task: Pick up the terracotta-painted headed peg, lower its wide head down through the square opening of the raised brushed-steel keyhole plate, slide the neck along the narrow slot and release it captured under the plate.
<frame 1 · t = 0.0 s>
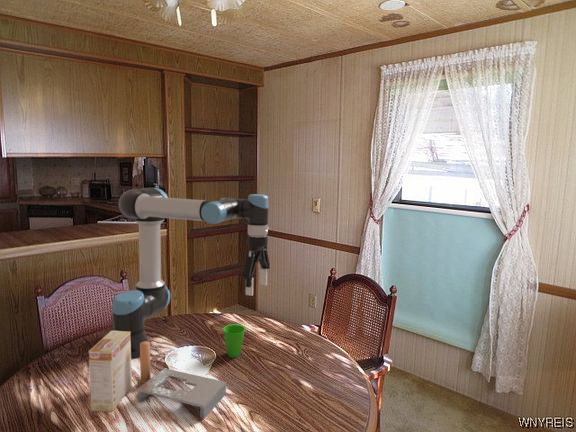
hand: (256, 289, 156), 28 cm above the table, fingers open, 13 cm apart
keyhole plate: (182, 398, 132), on the table
coffeecake box: (112, 398, 131), on the table
headed peg: (145, 384, 139), on the table
cup: (233, 355, 162), on the table
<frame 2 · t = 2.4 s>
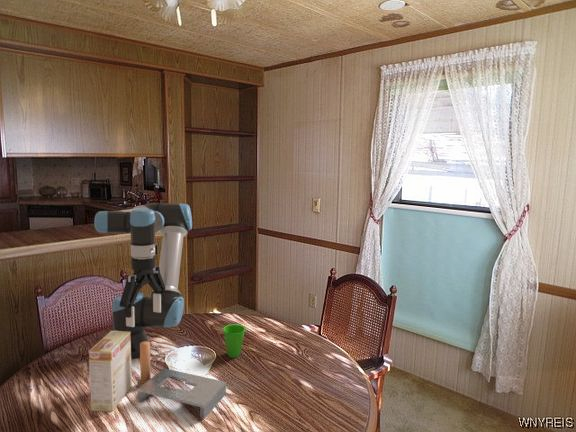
hand: (144, 318, 135), 24 cm above the table, fingers open, 13 cm apart
nothing on the table moved.
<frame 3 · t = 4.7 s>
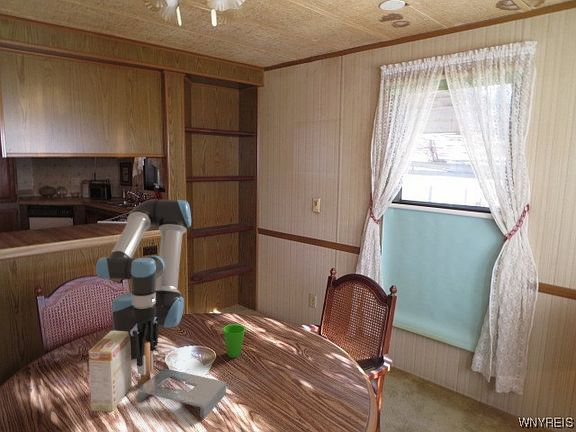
hand: (145, 370, 138), 5 cm above the table, fingers closed on headed peg, 3 cm apart
headed peg: (145, 384, 139), on the table, touching gripper
everything else where it was.
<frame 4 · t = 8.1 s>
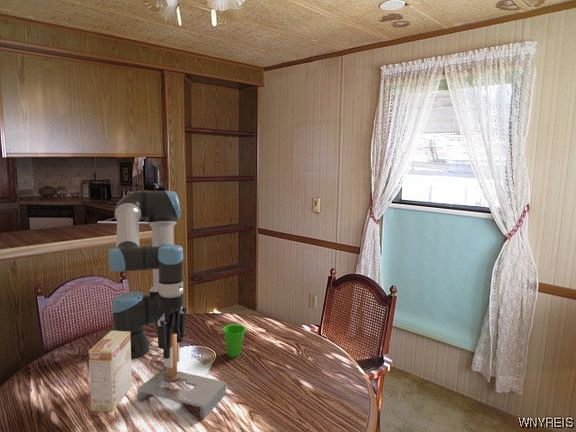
hand: (171, 363, 132), 11 cm above the table, fingers closed on headed peg, 3 cm apart
headed peg: (172, 378, 132), point 6 cm above the table, touching gripper
everything else where it was.
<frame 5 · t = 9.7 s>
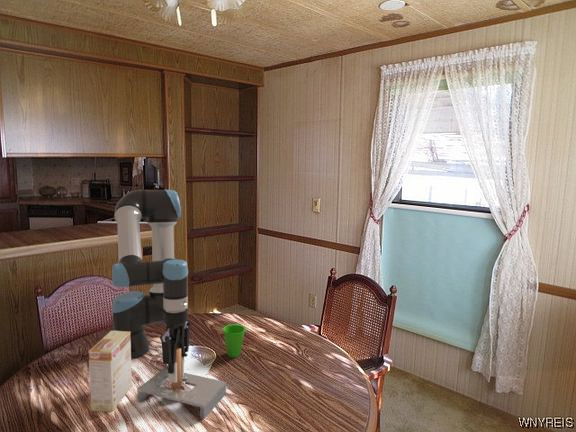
hand: (176, 378, 131), 6 cm above the table, fingers closed on headed peg, 3 cm apart
headed peg: (176, 392, 132), point 1 cm above the table, touching gripper
everything else where it was.
when the fingers open (6 cm above the table, at t = 11.3 s): headed peg drops 1 cm, on the table.
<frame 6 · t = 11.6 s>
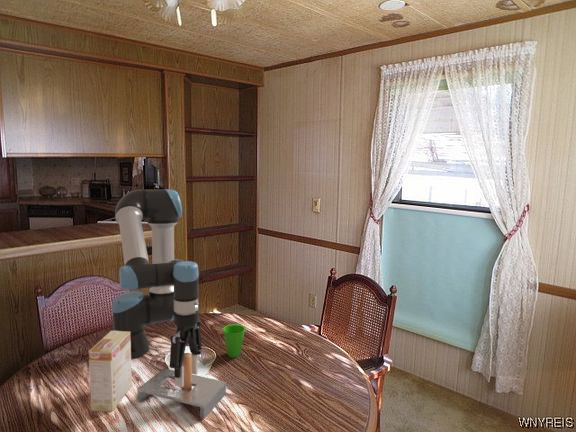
hand: (186, 379, 130), 7 cm above the table, fingers open, 7 cm apart
headed peg: (186, 399, 131), on the table
everything else where it was.
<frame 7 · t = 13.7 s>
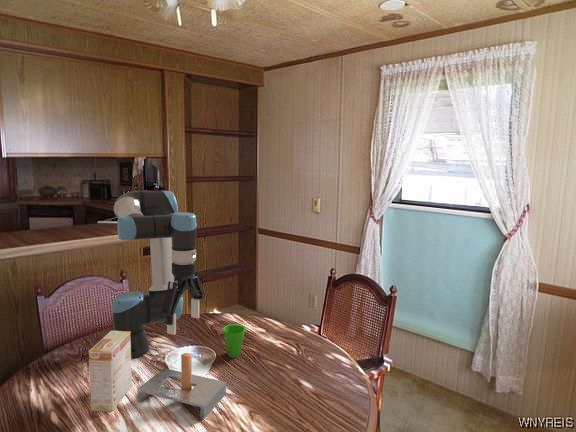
hand: (183, 325, 131), 24 cm above the table, fingers open, 13 cm apart
nothing on the table moved.
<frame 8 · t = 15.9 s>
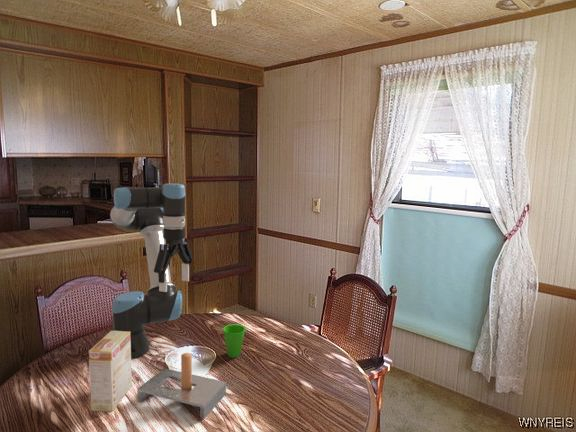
hand: (174, 285, 146), 32 cm above the table, fingers open, 13 cm apart
nothing on the table moved.
at the end: headed peg 0.2 cm from the target spot on the keyhole plate, point 0.0 cm above the keyhole plate's base; headed peg tilted 0°; the gripper is holding nothing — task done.
